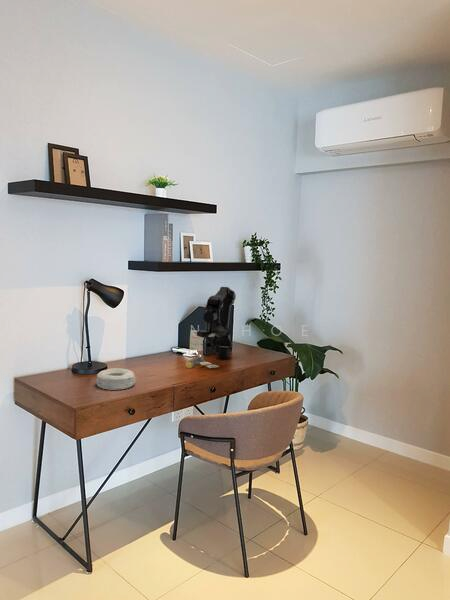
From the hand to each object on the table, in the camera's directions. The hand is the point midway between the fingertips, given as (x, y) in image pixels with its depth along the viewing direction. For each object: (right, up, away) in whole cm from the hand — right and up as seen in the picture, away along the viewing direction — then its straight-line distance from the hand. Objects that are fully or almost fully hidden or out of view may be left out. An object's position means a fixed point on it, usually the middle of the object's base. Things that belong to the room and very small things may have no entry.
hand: (213, 348), depth 260 cm
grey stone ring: (-44, -13, -40) cm, 60 cm away
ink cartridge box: (-10, -7, +30) cm, 32 cm away
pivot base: (-8, -9, +11) cm, 16 cm away
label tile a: (-5, -9, +7) cm, 12 cm away
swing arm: (-10, -9, +4) cm, 14 cm away
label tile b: (0, -10, +1) cm, 10 cm away
